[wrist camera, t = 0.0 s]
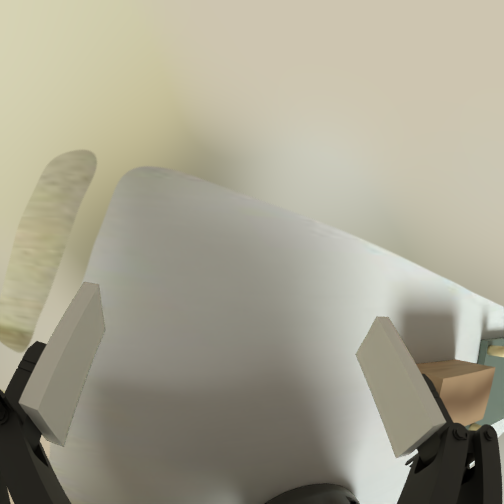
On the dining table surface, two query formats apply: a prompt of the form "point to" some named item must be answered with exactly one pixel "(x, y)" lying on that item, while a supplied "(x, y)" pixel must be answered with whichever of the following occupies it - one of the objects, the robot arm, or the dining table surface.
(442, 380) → the walnut block
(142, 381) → the dining table surface
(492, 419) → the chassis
